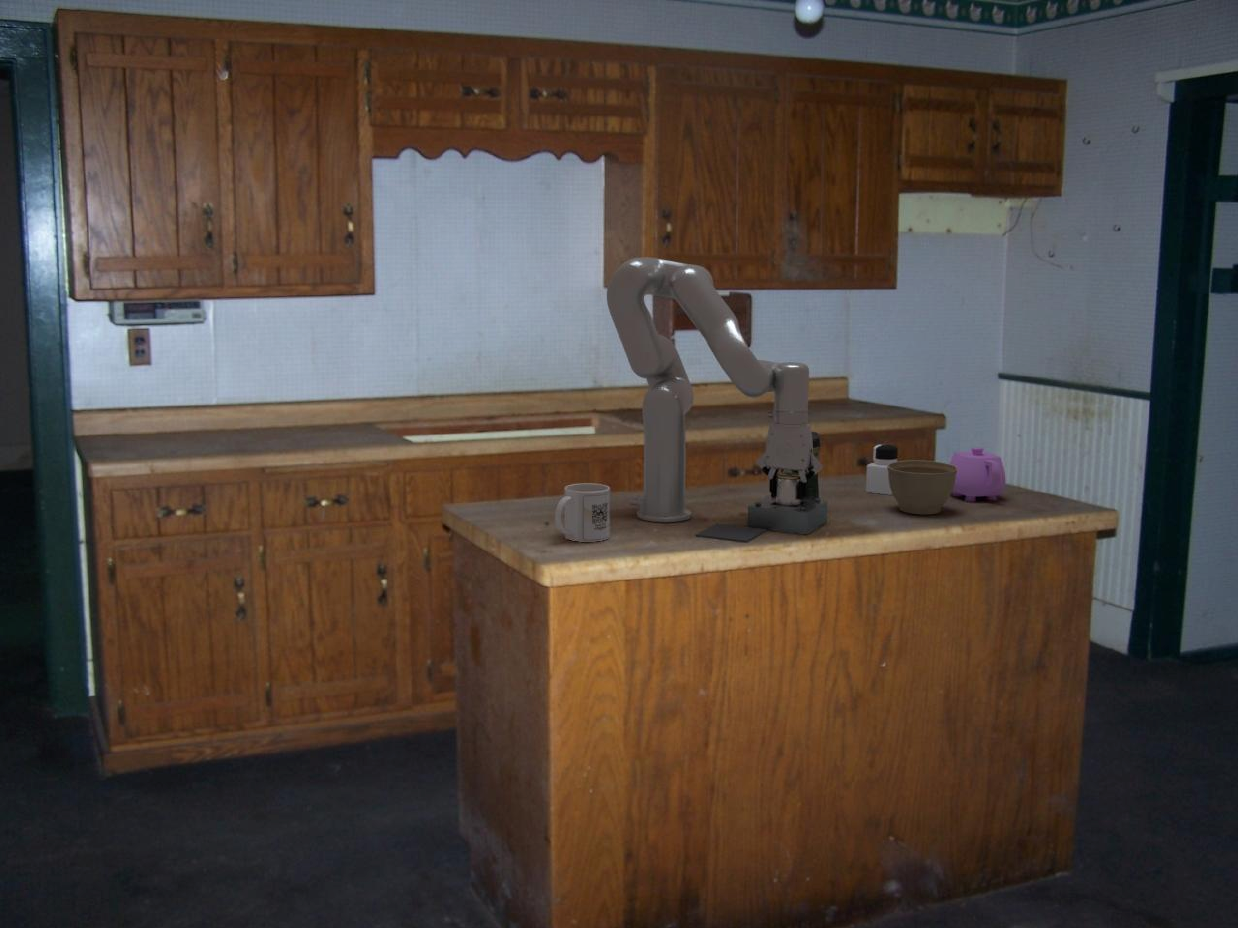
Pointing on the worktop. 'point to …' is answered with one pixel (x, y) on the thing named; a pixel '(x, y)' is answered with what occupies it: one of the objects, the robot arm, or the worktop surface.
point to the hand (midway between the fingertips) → (788, 496)
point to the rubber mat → (731, 532)
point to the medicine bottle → (880, 469)
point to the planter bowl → (921, 485)
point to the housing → (787, 515)
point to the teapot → (978, 474)
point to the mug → (585, 512)
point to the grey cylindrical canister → (787, 489)
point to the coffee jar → (813, 482)
